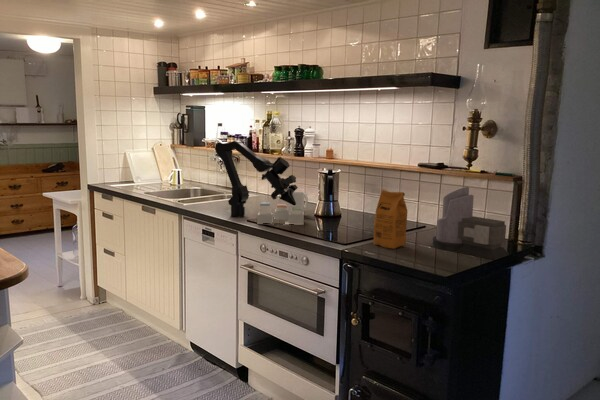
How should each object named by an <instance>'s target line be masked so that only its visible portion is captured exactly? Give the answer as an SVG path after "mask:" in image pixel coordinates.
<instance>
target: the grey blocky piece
mask: <svg viewBox="0 0 600 400" xmlns="http://www.w3.org/2000/svg"><path fill="white" fill-rule="evenodd" d="M474 199H475V198H474V195H473V194H470V187H469V186H465V187H461V188H458V189H456V190H454V191H451V192H449V193H447V194H446V195H444V196H443V198H442V214H441V218H438V219H437V220H436V232H435V233H436V236H433V237H432V242H430V243H429V245H428V246H429V247H432V248H435V249H438V250H440V251H441V250H442V251H447V252H457V253H463V254H465V255H467V254H468V255H469V256H470V255H471V256H475V257H481V258H485V259H490V260H494V261H495V260H497V259H498V260H499V259H500V258H501V259H502V258H505V257H507V256H510V253H509V252H508V251H507V250H506V249H505V248H504V247H503V244H504V243H506V235H507V234H506V233H507V225H506V224H505V223H506V221H504V220H498V219H493V218H486V217H479V216H474V215H473V210H474Z"/></svg>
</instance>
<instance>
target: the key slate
mask: <svg viewBox="0 0 600 400" xmlns="http://www.w3.org/2000/svg"><path fill="white" fill-rule="evenodd" d="M259 210H260V211H259V212H260V214H266V215H270V212H271V202H269V201H268V202H267V201H266V202H265V201H263V202H262V201H260V204H259Z"/></svg>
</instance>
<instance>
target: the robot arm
mask: <svg viewBox="0 0 600 400" xmlns="http://www.w3.org/2000/svg"><path fill="white" fill-rule="evenodd" d="M214 150H215V152H216V154H217V156H218V157H219V158H220V159H221V160H222V163H223V165H224V168H225V170H226V173H227V176H228V179H229V182H230V184H231V198H229V199H228V200H227V202H228V205H229V206H230V215H229V216H230V218H243V217H244V216H246V206H245V205H246V203H247V201H248V199H249V197H250V191H249V190H248V189H249V188H248V186H247V185H243V184H242V182H241V179H240V176H239V174H238V170H237V169H236V165H235V162H234V160H233V151H234V150H236V151H237V152H238V153H239V154H240V155H242V156H243V157H245V158H246V159H247V160H248V161H249V162H250V163H251V165H252V166H253V167H254V169H255V170H256V171H257V172H259V173H262V174H261V181H264V180H267V181H268V183H269V184H270V185H271V186H270V188H271V189H274V190H273V191H272V193H271V194H270V197H271V198H272V200H277V198H278V196H279V195H280V197H279V200H281V201H284V202H286V203H288V204H290V205H291V204H292V205H294V206H295V205H296V202H295V200H294V197H293V192H296V191H297V189H299V187H298V186H297V184H293V183H296V182H297V181H296V180H297V177H296V176H295V175H294V174H291V175H288V177H286V178H283V177H282V178H281V176H280V175H283V174H284V173H285V172H286V171H287V170H288V169H289V168H290V163H289V162H288V160H285V159H284V158H283V157H282V156H278V157H277V158H276V160H275V161H274V162H271V161H270V160H268V159H266V158H265V157H263V156H259V155H258V154H256V153H255V152H254V151H252V149H250V148H249V147H248V146H246V145H245V144H244V143H243V142H242V141H241V140H233V141H229V142H227V141H223V142H222V141H221V142H217V143H216V144H215V146H214Z"/></svg>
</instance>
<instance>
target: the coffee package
mask: <svg viewBox="0 0 600 400" xmlns="http://www.w3.org/2000/svg"><path fill="white" fill-rule="evenodd" d="M404 197H405V192H403V191H402V192H401V191H389V190H386V189H381V192H380V195H379V198H378V202H377V206H376V209H375V214H374V215H375V216H374V223H373V245H374V246H380V247H382V248H385V249H397V248H399V247H403V246H405V245H406V244H407V243H406V241H407V224H408V209H407V208H408V207H407V205H406V202H405V198H404Z"/></svg>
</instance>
